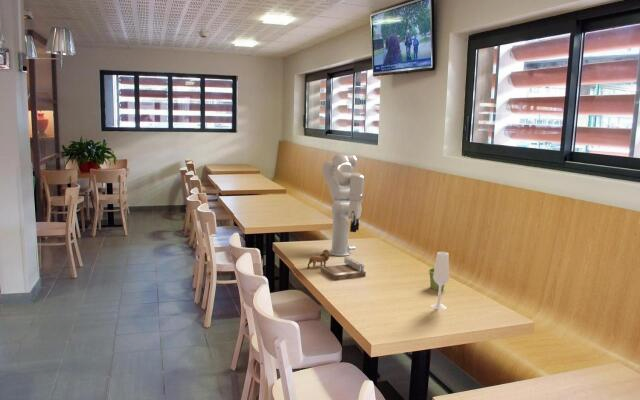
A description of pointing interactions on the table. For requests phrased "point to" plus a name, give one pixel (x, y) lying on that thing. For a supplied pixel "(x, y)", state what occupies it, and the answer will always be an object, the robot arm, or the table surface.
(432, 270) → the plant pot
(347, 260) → the folding leg
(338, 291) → the table surface
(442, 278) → the champagne flute
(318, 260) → the lion figurine
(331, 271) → the stool seat
